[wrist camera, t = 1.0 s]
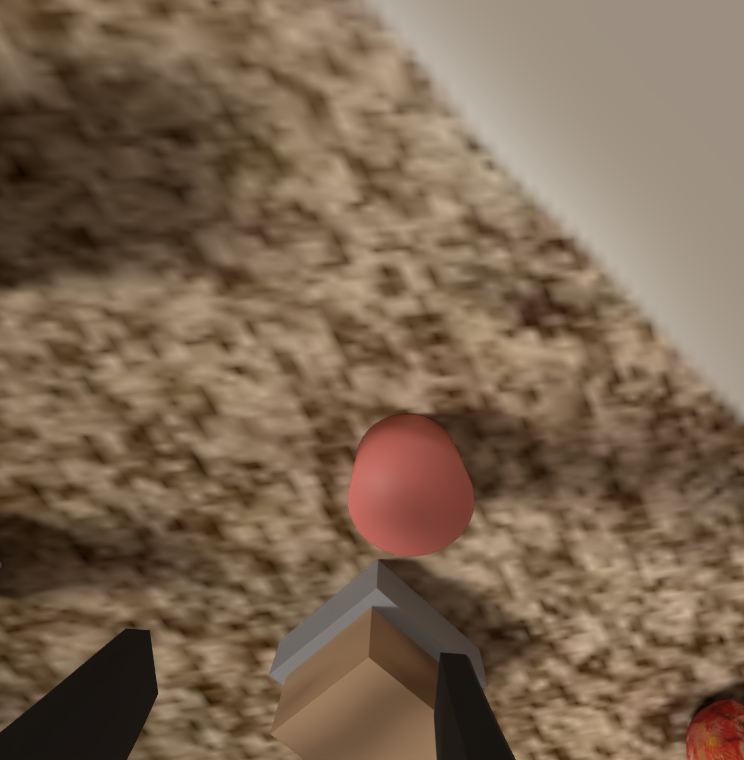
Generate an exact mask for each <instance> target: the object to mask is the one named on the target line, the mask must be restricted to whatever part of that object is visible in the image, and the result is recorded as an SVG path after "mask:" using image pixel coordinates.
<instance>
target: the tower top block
mask: <svg viewBox="0 0 744 760" xmlns="http://www.w3.org/2000/svg"><path fill="white" fill-rule="evenodd" d="M438 669H439V662H437V661H436V660H435V659H434V658H433V657H431V656H430V655H429V654H428V653H427V652H426V651H424V650H423V649H422V648H421V647H420V646H418V645H417V644H416V643H415V642H414V641H412V640H411V639H410V638H409V637H408V636H406V635H405V634H404V633H403V632H402V631H400V630H399V629H398V628H397V627H396V626H394V625H393V624H392V623H391V622H390V621H388V620H387V619H386V618H385V617H384V616H382V615H381V614H380V613H379V612H378V611H376V610H375V609H374V608H373V607H371V608H369V609H368V610H367V611H366V612H364V613H363V614H362V615H361V616H360V617H358V618H357V619H356V620H355V621H354V622H352V623H351V624H350V625H349V626H347V627H346V628H345V629H344V630H343V631H341V632H340V633H339V634H338V635H336V636H335V637H334V638H333V639H332V640H330V641H329V642H328V643H327V644H326V645H324V646H323V647H322V648H321V649H319V650H318V651H317V652H316V653H315V654H313V655H312V656H311V657H310V658H308V659H307V660H306V661H305V662H304V663H302V664H301V665H300V666H299V667H298V668H296V669H295V670H294V671H293V672H291V673H290V674H289V675H288V676H287V677H286V679H285V683H284V686H283V690H282V693H281V697H280V701H279V704H278V708H277V712H276V715H275V719H274V723H273V726H272V730H271V733H270V734H271V735H272V736H274V737H275V738H276V739H278V740H279V741H280V742H282V743H283V744H284V745H286V746H287V747H289V748H290V749H291V750H293V751H294V752H295V753H297V754H298V755H299V756H301V757H302V758H303V759H305V760H437V756H436V742H435V728H434V708H435V698H436V689H437V679H438Z"/></svg>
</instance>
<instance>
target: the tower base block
mask: <svg viewBox="0 0 744 760" xmlns="http://www.w3.org/2000/svg"><path fill="white" fill-rule="evenodd" d="M371 607H373V608H374V609H375V610H376V611H378V612H379V613H380V614H381V615H382V616H384V617H385V618H386V619H387V620H388V621H390V622H391V623H392V624H393V625H394V626H396V627H397V628H398V629H399V630H400V631H402V632H403V633H404V634H405V635H406V636H408V637H409V638H410V639H411V640H412V641H414V642H415V643H416V644H417V645H418V646H420V647H421V648H422V649H423V650H424V651H426V652H427V653H428V654H429V655H430V656H431V657H433V658H434V659H435V660H436V661H437V662H439V659H440V652H443V653H456V654H466V655H467V656H468V657H469V658H470V660H471V663H472V666H473V668H474V671H475V673H476V675H477V678H478V680H479V683H480V685H481V687H482V690H483V689H484V688H486V687H487V686H488V683H487V679H486V675H485V671H484V667H483V663H482V659H481V655H480V651H479V648H478V647H477V646H476V645H474V644H473V643H472V642H471V641H470V640H469V639H468V638H467V637H465V636H464V635H463V634H462V633H461V632H460V631H459V630H458V629H456V628H455V627H454V626H453V625H452V624H451V623H450V622H448V621H447V620H446V619H445V618H444V617H443V616H442V615H441V614H439V613H438V612H437V611H436V610H435V609H434V608H433V607H432V606H430V605H429V604H428V603H427V602H426V601H425V600H424V599H422V598H421V597H420V596H419V595H418V594H417V593H416V592H415V591H413V590H412V589H411V588H410V587H409V586H408V585H407V584H406V583H404V582H403V581H402V580H401V579H400V578H399V577H398V576H397V575H395V574H394V573H393V572H392V571H391V570H390V569H389V568H387V567H386V566H385V565H384V564H383V563H382V562H381V561H380V560H377V561H375V562H374V563H373V564H372V565H370V566H369V567H368V568H367V569H366V570H364V571H363V572H362V573H361V574H360V575H358V576H357V577H356V578H355V579H354V580H352V581H351V582H350V583H349V584H348V585H346V586H345V587H344V588H343V589H342V590H340V591H339V592H338V593H337V594H336V595H334V596H333V597H332V598H331V599H330V600H328V601H327V602H326V603H325V604H323V605H322V606H321V607H320V608H319V609H317V610H316V611H315V612H314V613H313V614H311V615H310V616H309V617H308V618H307V619H305V620H304V621H303V622H302V623H301V624H299V625H298V626H297V627H296V628H295V629H293V630H292V631H291V632H290V633H289V634H287V635H286V636H285V637H284V638H282V639H281V640H280V643H279V646H278V649H277V652H276V655H275V658H274V661H273V664H272V667H271V671H270V674H269V675H270V676H272V677H273V678H274V679H275V680H277V681H278V682H279V683H280V684H282V685H283V686H284V683H285V679H286V677H287V676H288V675H289V674H290V673H291V672H293V671H294V670H295V669H296V668H298V667H299V666H300V665H301V664H302V663H304V662H305V661H306V660H307V659H308V658H310V657H311V656H312V655H313V654H315V653H316V652H317V651H318V650H319V649H321V648H322V647H323V646H324V645H326V644H327V643H328V642H329V641H330V640H332V639H333V638H334V637H335V636H336V635H338V634H339V633H340V632H341V631H343V630H344V629H345V628H346V627H347V626H349V625H350V624H351V623H352V622H354V621H355V620H356V619H357V618H358V617H360V616H361V615H362V614H363V613H364V612H366V611H367V610H368V609H369V608H371Z"/></svg>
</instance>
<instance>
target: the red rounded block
mask: <svg viewBox="0 0 744 760" xmlns="http://www.w3.org/2000/svg"><path fill="white" fill-rule="evenodd" d="M348 506H349V511H350V515H351V518H352V520H353V523H354V524H355V526H356V528H357V529H358V531H359V532H360V533H361V534H362V535H363V536H364V538H365V539H366V540H368V541H369V542H370V543H372V544H373V545H374V546H376V547H378V548H379V549H382V550H384V551H386V552H389V553H392V554H396V555H401V556H421V555H427V554H431V553H434V552H437V551H439V550H441V549H443V548H445V547H447V546H449V545H450V544H451V543H453V542H454V541H455V540H456V539H457V538H459V537H460V535H461V534H462V533H463V532H464V530H465V529H466V527H467V526H468V524H469V522H470V520H471V517H472V514H473V510H474V491H473V487H472V483H471V481H470V478H469V476H468V474H467V471H466V469H465V467H464V465H463V462H462V460H461V458H460V455H459V453H458V451H457V449H456V446H455V444H454V442H453V440H452V438H451V437H450V435H449V434H448V432H447V431H446V430H445V429H444V428H443V427H442V426H441V425H439V424H438V423H436V422H435V421H433V420H431V419H429V418H427V417H424V416H421V415H416V414H398V415H393V416H390V417H387V418H385V419H383V420H381V421H379V422H377V423H376V424H375V425H373V426H372V427H371V428H370V429H369V430H368V431H367V432H366V433H365V435H364V436H363V438H362V440H361V442H360V444H359V447H358V450H357V454H356V459H355V464H354V469H353V473H352V478H351V483H350V488H349V493H348Z"/></svg>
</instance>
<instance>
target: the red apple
mask: <svg viewBox="0 0 744 760" xmlns="http://www.w3.org/2000/svg"><path fill="white" fill-rule="evenodd" d="M686 750H687V760H744V705H742V704H741V703H739V702H737V701H735V700H723V701H722V700H719V701H715V702H714V703H712V704H711V705H709V706H707V707H704V708H703V709H701V710H700V711H699V712H698V713H697V715H695V716H694V717H693V719H692V721H691V722H690V724H689V727H688V730H687V733H686Z"/></svg>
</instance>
